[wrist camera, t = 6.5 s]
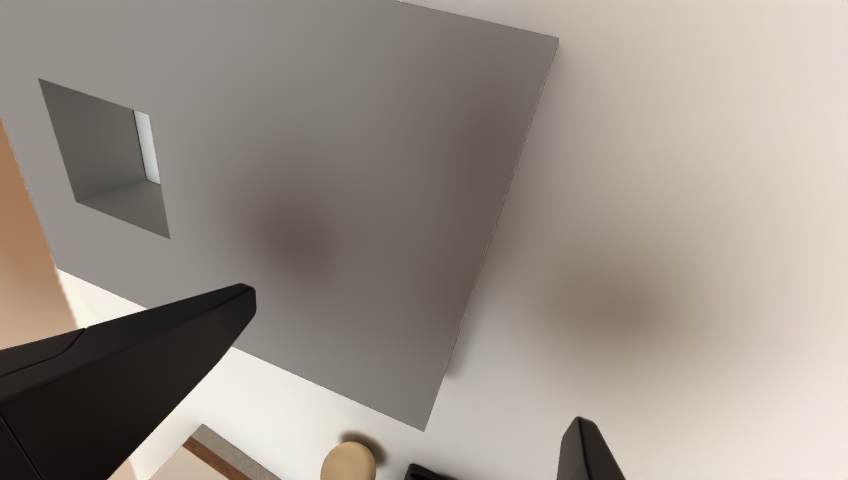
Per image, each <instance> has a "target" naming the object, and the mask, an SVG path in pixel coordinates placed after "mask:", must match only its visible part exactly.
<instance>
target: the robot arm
mask: <svg viewBox="0 0 848 480" xmlns="http://www.w3.org/2000/svg"><path fill="white" fill-rule="evenodd" d="M256 310H257V304H256V290H255V288H254V287H252V286H249V285H247V284H244V283H238V284H234V285H231V286H228V287H224V288H221V289H217V290H214V291H210V292H207V293H203V294H200V295H196V296H193V297H189V298H186V299H182V300H179V301H176V302H172V303H169V304H165V305H162V306H158V307H155V308H151V309H148V310H144V311H141V312H137V313H134V314H130V315H127V316H123V317H120V318H116V319H113V320H110V321H106V322H103V323H99V324H96V325H92V326H89V327H87V328H81V329H78V330H75V331H71V332H68V333H65V334H61V335H57V336H53V337H49V338H46V339H42V340H39V341H35V342H31V343H27V344H23V345H19V346H14V347H10V348H6V349H3V350H0V480H107V479H108V478H109V477H110V476H111V475H112V474H113V473H114V472H115V471H116V470H117V468H119V467H120V466H121V464H122V463H123V462H124V461H125V460H126V459H127V458H128V457H129V456H130V455H131V454H132V453H133V452H134V451H135V450H136V449H137V448H138V447H139V446H140V444H141V443H142V442H143V441H144V440H145V439H146V438H147V437H148V436H149V435H150V434H151V433H152V432H153V431H154V430H155V429H156V428H157V427H158V426H159V424H160V423H161V422H162V421H163V420H164V419H165V418H166V417H167V416H168V415H169V414H170V413H171V412H172V411H173V410H174V409H175V408H176V407H177V405H178V404H179V403H180V402H181V401H182V400H183V399H184V398H185V397H186V396H187V395H188V394H189V393H190V392H191V391H192V390H193V389H194V388H195V386H196V385H197V384H198V383H199V382H200V381H201V380H202V379H203V378H204V377H205V376H206V375H207V374H208V373H209V372H210V371H211V370H212V369H213V367H214V366H215V365H216V364H217V363H218V362H219V361H220V360H221V358H222V357H223V356H224V355H225V354H226V352H227V351H228V350H229V348H230V347H231V346H232V345H233V343H234V342H235V341H236V339H237V338H238V337H239V336H240V334H241V333H242V332H243V330H244V329H245V328H246V327H247V325H248V324H249V323H250V321H251V320H252V319H253V317H254V316H255V314H256ZM404 480H447V479H444V478H442V477H440V476H438V475H436V474H434V473H431V472H429V471H427V470H425V469H423V468H421V467H419V466H416V465H409V467H408V470H407V472H406V475H405V478H404ZM557 480H626V479H625V477H624V475H623V473H622V472H621V470H620V468H619V466H618V464H617V462H616V460H615V459H614V457H613V455H612V453H611V451H610V449H609V447H608V446H607V444H606V442H605V440H604V438H603V436H602V434H601V433H600V431H599V429H598V427H597V425H596V424H595V423H594V422H592V421H590V420H588V419H585V418H583V417H580V416H577V417H575V418H574V420H573V421H572V423H571V424H570V426H569V428H568V429H567V431H566V432H565V434H564V435H563V438H562V441H561V447H560V456H559V464H558V473H557Z"/></svg>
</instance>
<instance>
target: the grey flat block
mask: <svg viewBox="0 0 848 480" xmlns="http://www.w3.org/2000/svg"><path fill="white" fill-rule="evenodd" d="M558 43H559V38H556V37H552V36H548V35H543V34H539V33H535V32H530V31H526V30H522V29H517V28H513V27H508V26H504V25H500V24H495V23H491V22H487V21H482V20H478V19H474V18H469V17H465V16H461V15H456V14H452V13H448V12H443V11H439V10H435V9H430V8H426V7H422V6H417V5H413V4H408V3H404V2H400V1H395V0H0V117H1V120H2V122H3V125H4V128H5V130H6V133H7V136H8V138H9V141H10V144H11V146H12V149H13V152H14V154H15V157H16V160H17V163H18V165H19V168H20V171H21V173H22V176H23V179H24V181H25V184H26V187H27V189H28V192H29V195H30V197H31V200H32V203H33V205H34V208H35V211H36V213H37V216H38V219H39V221H40V224H41V227H42V230H43V232H44V235H45V238H46V240H47V243H48V246H49V248H50V251H51V254H52V256H53V259H54V262H55V264H56V267H57V269H60V270H62V271H64V272H66V273H69V274H71V275H73V276H75V277H78V278H80V279H82V280H84V281H87V282H89V283H91V284H93V285H96V286H98V287H100V288H102V289H105V290H107V291H109V292H111V293H114V294H116V295H118V296H120V297H122V298H125V299H127V300H129V301H131V302H134V303H136V304H138V305H140V306H143V307H145V308H147V309H151V308H155V307H158V306H162V305H165V304H169V303H172V302H176V301H179V300H182V299H186V298H189V297H193V296H196V295H200V294H203V293H207V292H210V291H214V290H217V289H221V288H224V287H228V286H231V285H234V284H238V283H244V284H247V285H249V286H252V287H254V288H255V290H256V304H257V310H256V314H255V316H254V317H253V319H252V320H251V321H250V323H249V324H248V325H247V327H246V328H245V329H244V330H243V332H242V333H241V334H240V336H239V337H238V338H237V339H236V341H235V342H234V343H233V345H232V347H235V348H237V349H239V350H241V351H244V352H246V353H248V354H250V355H253V356H255V357H257V358H259V359H262V360H264V361H266V362H268V363H271V364H273V365H275V366H277V367H280V368H282V369H284V370H286V371H289V372H291V373H293V374H295V375H298V376H300V377H302V378H304V379H306V380H309V381H311V382H313V383H315V384H318V385H320V386H322V387H324V388H327V389H329V390H331V391H333V392H336V393H338V394H340V395H342V396H345V397H347V398H349V399H351V400H354V401H356V402H358V403H360V404H363V405H365V406H367V407H369V408H372V409H374V410H376V411H378V412H381V413H383V414H385V415H387V416H390V417H392V418H394V419H396V420H398V421H401V422H403V423H405V424H407V425H410V426H412V427H414V428H416V429H419V430H421V431H423V432H424V431H425V428H426V425H427V422H428V419H429V416H430V414H431V411H432V408H433V405H434V402H435V400H436V397H437V394H438V391H439V388H440V385H441V383H442V380H443V377H444V374H445V371H446V368H447V365H448V362H449V360H450V357H451V354H452V351H453V348H454V345H455V342H456V339H457V336H458V333H459V331H460V328H461V325H462V322H463V319H464V316H465V313H466V310H467V307H468V304H469V301H470V299H471V296H472V293H473V290H474V287H475V284H476V281H477V278H478V275H479V272H480V269H481V267H482V264H483V261H484V258H485V255H486V252H487V249H488V246H489V243H490V240H491V237H492V235H493V232H494V229H495V226H496V223H497V220H498V217H499V214H500V211H501V208H502V205H503V203H504V200H505V197H506V194H507V191H508V188H509V185H510V182H511V179H512V176H513V174H514V171H515V168H516V165H517V162H518V159H519V156H520V153H521V150H522V147H523V144H524V142H525V139H526V136H527V133H528V130H529V127H530V124H531V121H532V118H533V115H534V112H535V110H536V107H537V104H538V101H539V98H540V95H541V92H542V89H543V86H544V83H545V80H546V78H547V75H548V72H549V69H550V66H551V63H552V60H553V57H554V54H555V51H556V48H557V46H558ZM133 110H136V111H139V112H142V113H145V114H148V115H149V118H150V124H151V130H152V136H153V142H154V147H155V153H156V159H157V165H158V171H159V176H160V182H161V185H158V184H155V183H153V182H150V181H147V180H146V177H145V171H144V166H143V161H142V156H141V151H140V146H139V140H138V135H137V130H136V125H135V120H134V115H133Z"/></svg>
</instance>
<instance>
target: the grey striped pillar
mask: <svg viewBox="0 0 848 480" xmlns="http://www.w3.org/2000/svg"><path fill="white" fill-rule="evenodd" d="M149 480H281V479H279V478H278V477H276V476H275V475H274V474H272V473H271V472H269V471H268V470H266V469H265V468H264V467H262V466H261V465H259V464H258V463H257V462H255V461H254V460H252V459H251V458H250V457H248V456H247V455H245V454H244V453H243V452H241V451H240V450H238V449H237V448H236V447H234V446H233V445H231V444H230V443H229V442H227V441H226V440H224V439H223V438H222V437H220V436H219V435H217V434H216V433H215V432H213V431H212V430H210V429H209V428H208V427H206V426H205V425H203V424H202V425H201V426H200V427H199V428H198V429H197V430H196V431H195V432H194V433H193V434H192V435H191V436H190V437H189V438H188V440H187V441H186V442H185V443H184V444H183V445H182V446H181V447H180V448H179V449H178V450H177V451H176V452H175V453H174V454H173V455H172V456H171V457H170V458H169V459H168V460H167V461H166V462H165V464H164V465H163V466H162V467H161V468H160V469H159V470H158V471H157V472H156V473H155V474H154V475H153V476H152V477H151V478H150V479H149Z"/></svg>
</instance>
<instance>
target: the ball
mask: <svg viewBox="0 0 848 480" xmlns="http://www.w3.org/2000/svg"><path fill="white" fill-rule="evenodd" d="M375 477H376V464H375V460H374V457H373V455H372V453H371V452H370V450H369V449H368V448H367V447H366V446H364V445H363V444H361V443H358V442H344V443H341V444H339V445H338V446H336V447H335V448H333V449H332V450H331V451H330V453H329V454H328V455H327V457H326V458H325V460H324V463H323V465H322V469H321V480H375Z"/></svg>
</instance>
